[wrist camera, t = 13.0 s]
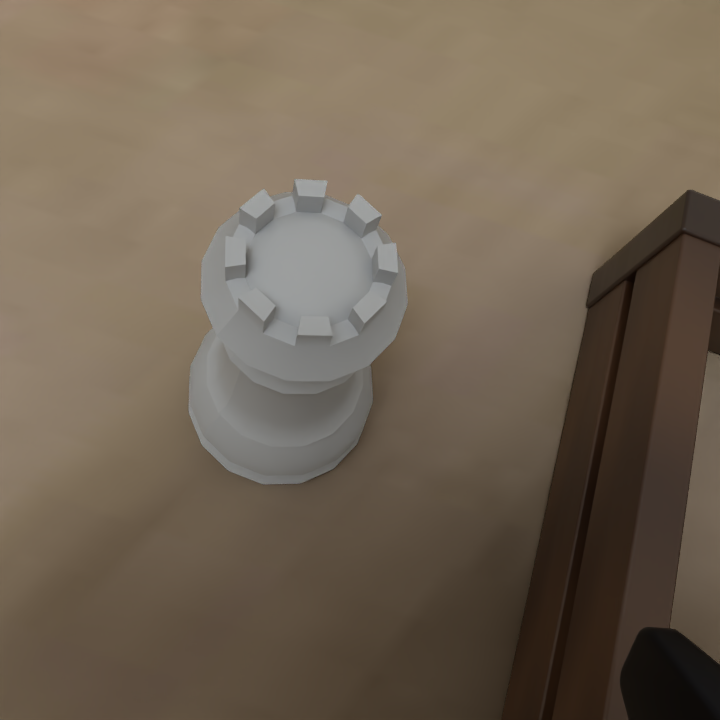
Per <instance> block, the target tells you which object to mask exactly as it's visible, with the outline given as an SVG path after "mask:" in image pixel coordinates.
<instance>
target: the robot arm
mask: <svg viewBox="0 0 720 720" xmlns="http://www.w3.org/2000/svg"><path fill="white" fill-rule="evenodd" d="M620 688H621V693H622V697H623V700H624V704H625V708H626V711H627V715H628V719H629V720H720V664H718V663H717V662H716V661H715V660H713V659H712V658H711V657H710V656H708V655H707V654H706V653H705V652H704V651H702V650H701V649H700V648H699V647H697V646H696V645H695V644H694V643H692V642H691V641H690V640H689V639H687V638H686V637H685V636H684V635H683V634H681V633H680V632H678V631H677V630H675V629H671V628H659V627H645V628H643V629H642V630H640V631H639V632H638V634H637V636H636V638H635V641H634V643H633V645H632V647H631V649H630V651H629V654H628V656H627V658H626V660H625V662H624V665H623V667H622V669H621V674H620Z"/></svg>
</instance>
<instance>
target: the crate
mask: <svg viewBox="0 0 720 720" xmlns="http://www.w3.org/2000/svg"><path fill="white" fill-rule="evenodd" d="M587 307H588V308H589V311H588V316H587V321H586V326H585V330H584V335H583V340H582V344H581V349H580V354H579V358H578V363H577V368H576V372H575V377H574V382H573V387H572V391H571V396H570V401H569V405H568V410H567V415H566V419H565V424H564V429H563V433H562V438H561V443H560V448H559V452H558V457H557V462H556V466H555V471H554V476H553V480H552V485H551V490H550V494H549V499H548V504H547V509H546V513H545V518H544V523H543V527H542V532H541V537H540V541H539V546H538V551H537V555H536V560H535V565H534V570H533V574H532V579H531V584H530V588H529V593H528V598H527V602H526V607H525V612H524V616H523V621H522V626H521V631H520V635H519V640H518V645H517V649H516V654H515V659H514V663H513V668H512V673H511V677H510V682H509V687H508V692H507V696H506V701H505V706H504V710H503V715H502V720H629V719H628V715H627V711H626V708H625V704H624V700H623V697H622V693H621V688H620V674H621V669H622V667H623V665H624V662H625V660H626V658H627V656H628V654H629V651H630V649H631V647H632V645H633V643H634V641H635V638H636V636H637V634H638V632H639V631H640V630H642V629H643V628H645V627H659V628H669V627H670V620H671V613H672V605H673V598H674V591H675V584H676V577H677V569H678V562H679V555H680V548H681V540H682V533H683V526H684V519H685V512H686V504H687V497H688V490H689V483H690V475H691V468H692V461H693V454H694V447H695V439H696V432H697V425H698V418H699V411H700V403H701V396H702V389H703V382H704V374H705V367H706V360H707V353H708V350H709V351H712V352H715V353H717V354H720V201H719V200H717V199H714V198H712V197H709V196H706V195H704V194H701V193H699V192H696V191H694V190H687V191H686V192H685V193H684V194H683V195H682V196H681V197H679V198H678V199H677V200H676V201H675V202H674V203H673V204H672V205H670V206H669V207H668V208H667V209H666V210H665V211H664V212H663V213H661V214H660V215H659V216H658V217H657V218H656V219H655V220H653V221H652V222H651V223H650V224H649V225H648V226H647V227H646V228H644V229H643V230H642V231H641V232H640V233H639V234H638V235H637V236H635V237H634V238H633V239H632V240H631V241H630V242H629V243H628V244H626V245H625V246H624V247H623V248H622V249H621V250H620V251H618V252H617V253H616V254H615V255H614V256H613V257H612V258H611V259H609V260H608V261H607V262H606V263H605V264H604V265H603V266H602V267H600V268H599V269H598V270H597V271H596V272H595V273H594V274H593V278H592V282H591V287H590V292H589V296H588V301H587Z"/></svg>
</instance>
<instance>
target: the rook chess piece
mask: <svg viewBox="0 0 720 720" xmlns="http://www.w3.org/2000/svg"><path fill="white" fill-rule="evenodd" d="M326 185H327V181H323V180H305V179H294V186H293V193H292V192H284V193H280V194H277V195H274V196H271V197H270V196H269V195H268V193H267V192H266V191H265V189H264V188H263V189H262V190H261V191H260V192H259V193H257V194H256V195H255V196H254V197H252V198H251V199H250V200H249V201H247V202H246V203H245V204H244V205H243V206H241V207H240V208H239V211H238V212H237V213H236V214H235V215H233V216H232V217H231V218H230V219H228V220H227V221H226V222H225V223H223V224H222V225H221V226H220V227H219V228H218V230H217V232H216V234H215V236H214V238H213V240H212V242H211V244H210V246H209V248H208V250H207V252H206V254H205V256H204V257H203V259H202V273H201V301H202V303H203V306H204V308H205V310H206V313H207V315H208V317H209V320H210V322H211V324H212V327H213V328H212V329H211V330H210V331H209V332H208V333H207V334H206V335H205V337H204V339H203V341H202V343H201V345H200V347H199V350H198V352H197V354H196V356H195V358H194V360H193V362H192V364H191V366H190V382H189V414H190V417H191V419H192V422H193V424H194V427H195V429H196V432H197V434H198V437H199V439H200V442H201V444H202V446H203V447H204V448H205V449H206V450H207V451H208V452H209V453H210V454H212V455H213V456H214V457H215V458H216V459H217V460H218V461H219V462H220V463H221V464H222V465H223V466H224V467H225V468H226V469H227V470H228V471H230V472H232V473H235V474H238V475H240V476H243V477H245V478H248V479H250V480H253V481H255V482H258V483H261V484H301V483H303V482H305V481H307V480H310V479H312V478H314V477H316V476H319V475H321V474H323V473H325V472H328V471H330V470H332V469H334V468H335V467H336V466H337V465H338V464H339V463H340V461H341V460H342V459H343V458H344V457H345V456H346V455H347V454H348V453H349V452H350V451H351V450H352V449H353V448H354V447H355V446H356V444H357V443H358V441H359V438H360V435H361V433H362V431H363V428H364V425H365V422H366V420H367V417H368V414H369V412H370V409H371V406H372V403H373V391H372V373H371V365H370V364H371V363H372V362H373V361H374V360H375V359H376V358H377V357H378V356H379V355H380V354H381V353H382V352H383V351H384V350H385V349H386V348H387V346H388V345H389V344H390V343H391V342H392V341H393V340H394V339H395V338H396V335H397V332H398V329H399V327H400V324H401V321H402V319H403V316H404V313H405V310H406V308H407V305H408V301H407V287H406V273H405V267H404V265H403V263H402V261H401V259H400V257H399V255H398V253H397V250H396V243H392V241H391V239H390V237H389V235H388V234H387V233H386V232H385V231H384V230H383V229H381V228H380V227H379V226H378V223H379V221H380V218H381V216H382V215H381V214H380V213H379V212H378V211H377V210H376V209H375V208H374V207H372V206H371V205H370V204H369V203H368V202H367V201H366V200H365V199H364V198H362V197H361V196H360V195H359V194H357V195H356V197H355V198H354V199H353V201H352V202H351V203H350V205H349V204H346V203H344V202H342V201H339V200H337V199H334V198H332V197H330V196H327V195H325V191H326Z"/></svg>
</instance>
